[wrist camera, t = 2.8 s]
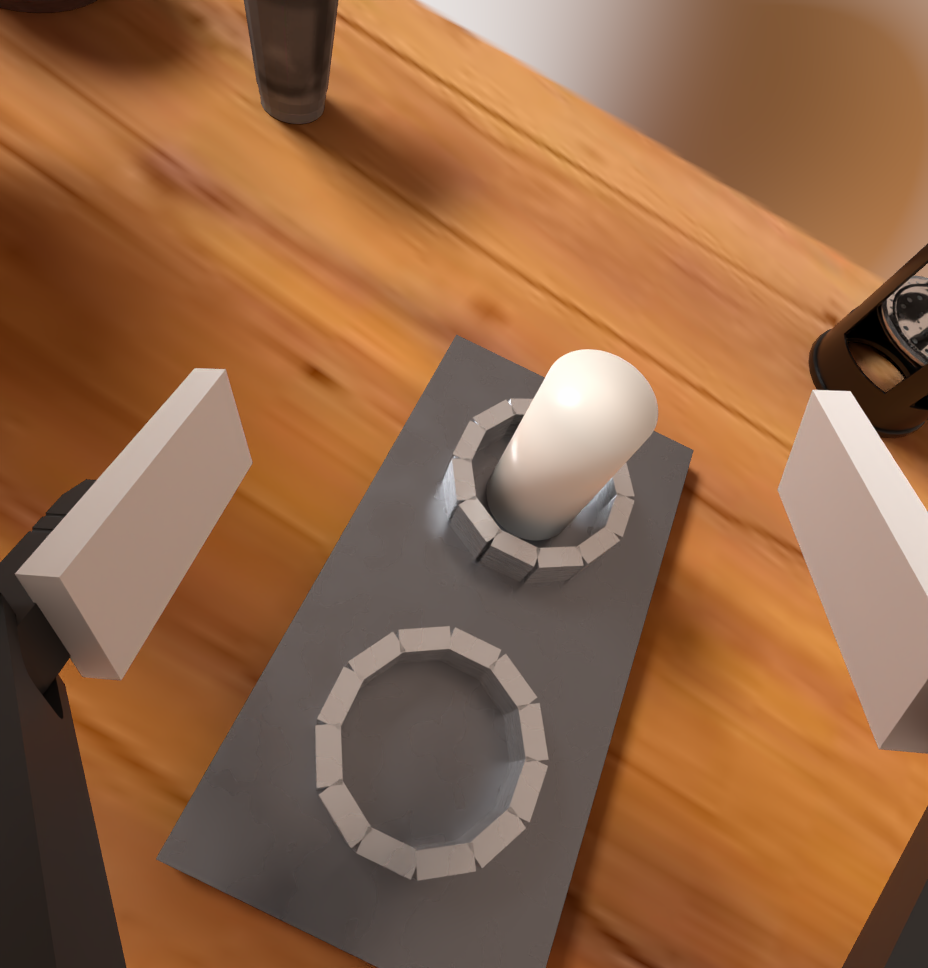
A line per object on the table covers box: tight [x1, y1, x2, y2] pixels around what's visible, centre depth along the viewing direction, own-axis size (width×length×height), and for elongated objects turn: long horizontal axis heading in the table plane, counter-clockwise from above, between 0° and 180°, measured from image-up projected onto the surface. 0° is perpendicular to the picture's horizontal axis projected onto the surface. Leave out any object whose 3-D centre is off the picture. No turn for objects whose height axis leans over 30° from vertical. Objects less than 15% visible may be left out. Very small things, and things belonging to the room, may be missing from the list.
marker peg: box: [486, 349, 658, 540], centre depth 32 cm, size 5×5×10 cm
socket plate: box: [156, 335, 693, 968], centre depth 32 cm, size 16×30×4 cm, turn 157°
